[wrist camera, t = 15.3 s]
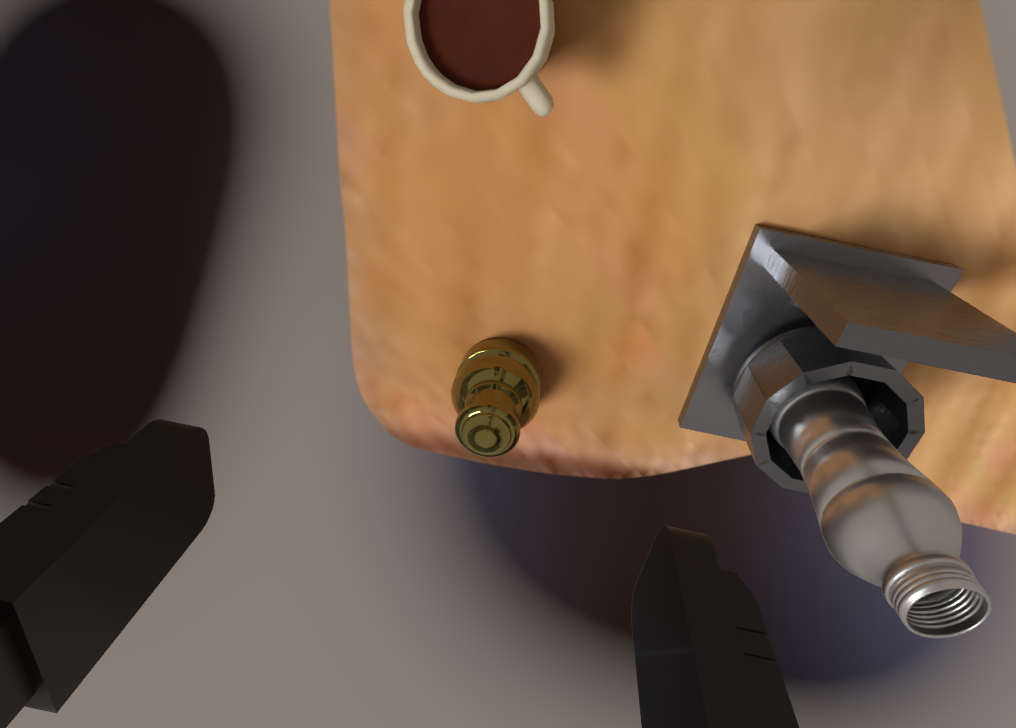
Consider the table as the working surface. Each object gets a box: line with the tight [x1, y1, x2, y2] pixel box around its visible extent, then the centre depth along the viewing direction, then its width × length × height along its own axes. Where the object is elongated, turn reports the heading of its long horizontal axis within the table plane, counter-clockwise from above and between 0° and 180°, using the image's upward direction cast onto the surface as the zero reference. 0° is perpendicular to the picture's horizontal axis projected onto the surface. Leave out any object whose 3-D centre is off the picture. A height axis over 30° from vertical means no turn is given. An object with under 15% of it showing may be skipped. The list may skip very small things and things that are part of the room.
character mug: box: [403, 0, 555, 117], centre depth 32 cm, size 11×7×13 cm, turn 39°
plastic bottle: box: [768, 375, 992, 638], centre depth 35 cm, size 6×7×20 cm
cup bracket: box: [678, 225, 1016, 493], centre depth 40 cm, size 18×15×14 cm
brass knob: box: [451, 339, 541, 457], centre depth 46 cm, size 7×7×10 cm
